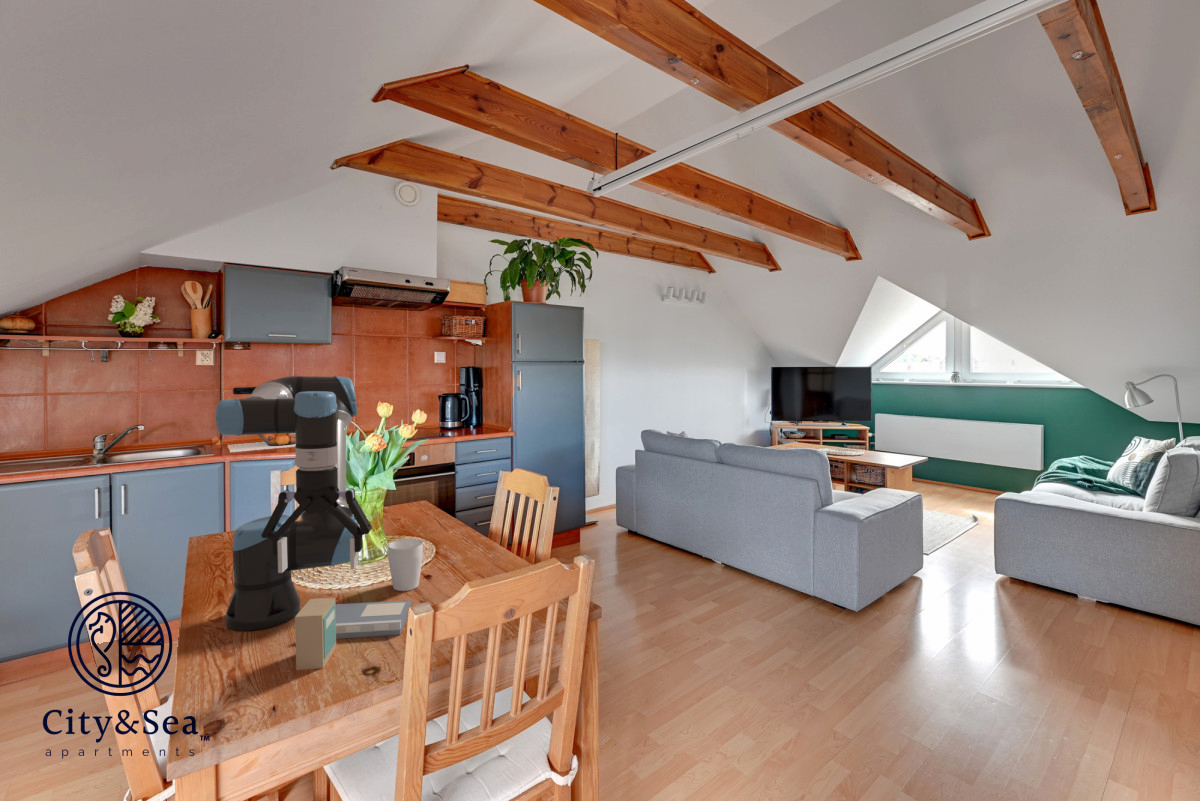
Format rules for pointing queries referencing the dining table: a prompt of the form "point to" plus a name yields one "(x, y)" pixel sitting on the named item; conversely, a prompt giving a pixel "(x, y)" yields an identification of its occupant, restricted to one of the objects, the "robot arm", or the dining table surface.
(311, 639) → the tea box
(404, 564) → the cup
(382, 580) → the dining table surface
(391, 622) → the grey flat rectangular block
